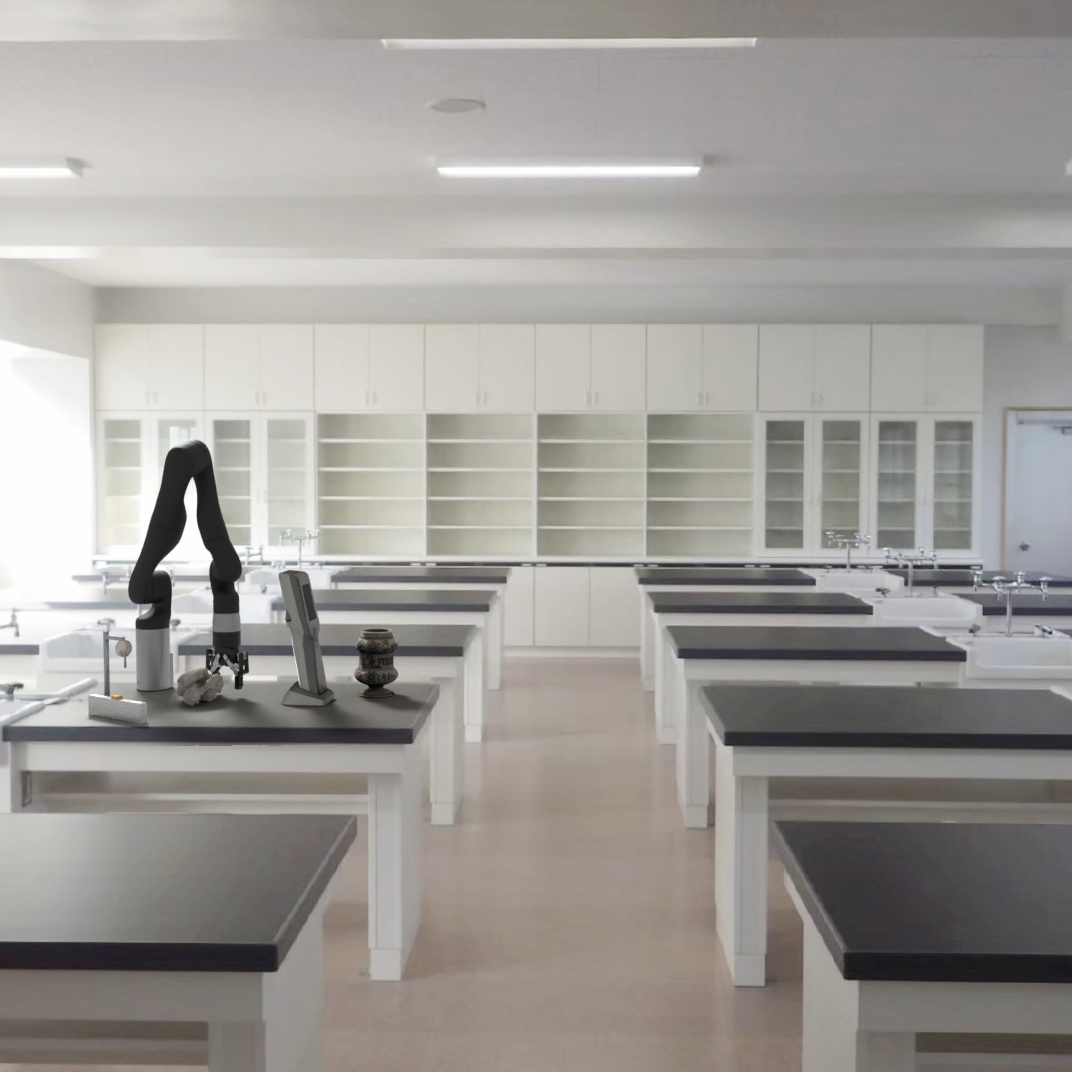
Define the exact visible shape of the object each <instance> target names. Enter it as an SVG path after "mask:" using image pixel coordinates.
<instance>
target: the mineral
mask: <svg viewBox="0 0 1072 1072" xmlns="http://www.w3.org/2000/svg"><path fill="white" fill-rule="evenodd" d="M176 682H177V687H176V692H177V695H178V697H181V698H182V701H183V702H184V703H185V704H186V705H188V706H190V707H193V706H194V705H196V704H200V701H203V702H213V701H214V700H215V699H216V695H217V694H221V692H222V689H223V688H224V687H225V682H224V677H223V676H222V675H221V674H220V675H219V674H218V673H217V674H213V675H212V673H209V670H208V669H207V668H206V667H199V668H194V669H192V670H189V671H188V672H187V671H186V672H184V673H182V674H181V675H179V676H178V678H177V680H176Z"/></svg>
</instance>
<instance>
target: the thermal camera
mask: <svg viewBox="0 0 1072 1072" xmlns="http://www.w3.org/2000/svg"><path fill="white" fill-rule="evenodd" d="M278 580H279V584H280V589H281V590H280V591H281V595H282V600H283V604H284V608H285V617H284V621H285V626H286V627H287V628H290V636H291V643H292V649H293V650H292V651H293V655H294V662H295V665H296V670H297V676H298V677H297V678H298V680H297V681H295V682H294V683H293V684H291V685H292V686H290V687H289V689H288V690H287V691H286V693H285V694H284V695H283V698H282V699H281V705H283V706H287V707H288V706H290V707H292V706H293V707H294V706H295V707H325V706H327V705H328V704H330V703H331V702H332V701H333V700H334V699H336V696H335V692H334V691H333V690H332V689H331V688H328V684H327V679H326V672H325V667H324V660H323V656H322V650H321V645H320V640H319V635H320V630H321V626H320V618H319V614H318V609H317V606H316V602H315V598H314V594H313V593H314V592H313V588H312V583H311V579H310V576H309V574H308V572H306V571H304V570H294V569H287V570H285V571H282V572H279V573H278Z"/></svg>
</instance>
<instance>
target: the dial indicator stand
mask: <svg viewBox="0 0 1072 1072" xmlns="http://www.w3.org/2000/svg"><path fill="white" fill-rule="evenodd" d="M109 632H110V631H109V630H102V638H103V639H102V640H103V641H102V643H103V644H102V645H103V649H102V650H103V651H102V652H103V686H104V687H103V689H104V690H103V691H104V693H103V694H104V695H103V696H109V697H111V682H110V681H111V678H110V675H111V673H110V670H111V669H110V641H111V640H112V641H117V643H115V644H116V645H115V648H114V651H115V653H116V656H118V657H122V658H123V668H125V669H127V667H128V666H127V657H128V656H130V655H131V653H132V651H133V644H132V643H131V641H130V640H127V639H126V636H124V635H123V636H122V635H114V634H109Z"/></svg>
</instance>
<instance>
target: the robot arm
mask: <svg viewBox="0 0 1072 1072" xmlns="http://www.w3.org/2000/svg"><path fill="white" fill-rule="evenodd" d="M215 478H216V477H215V471H214V465H213V459H212V455H211V451H210V449H209V448H208V446H207V445H206V443H204V442H203V441H201V440H199V439H195V438H194V439H189V440H186V441H184V442H182V443H180V444H178V445H174V446H173V447H172V448H171V449H170V450H168V452H167V454H166V457H165V461H164V465H163V471H162V476H161V482H160V487H159V491H158V494H157V497H156V501H155V504H154V508H153V511H152V514H151V517H150V520H149V524H148V527H147V531H146V534H145V535H146V536H145V537H144V541H143V544H142V548H141V551H140V553H139V556H138V558H137V559H136V562H135V565H134V568H133V570H132V572H131V574H130V578H129V580H128V587H127V593H128V598H129V600H130V601H131V602H132V603H133V604H135V605H150V604H151V607H150V609H149V610H147V611H146V612H145V613H144V614H142V615H140V616H137V617H136V619H135V622H134V623H135V624H134V625H135V626H134V628H135V665H136V667H135V669H136V670H135V671H136V675H135V677H136V678H135V679H136V690H138V691H146V692H147V691H151V692H153V691H162V690H163V691H164V690H168V689H170V688H173V687H174V685H175V684H174V682H175V681H174V653H172V652H171V632H170V631H171V630H170V626H171V625H170V622H171V618H172V602H173V600H172V599H173V584H172V579H171V576H170V574H169V573H168V571H166V570H162V569H159V570H158V569H157V567H158V566H159V564H160V563H161V562H162V561H163V560H164V559H165V558H166V557H167V556H168V555H170V553H171V552H172V551H174V549H175V548H176V547H177V546H178V544H179V543H180V541H181V539H182V537H183V535H184V531H185V527H186V523H187V520H188V519H187V518H188V514H187V513H188V512H187V509H186V504H185V496H186V493H187V489H188V487H189V484H190V482H191V480H192V479H193V482H194V485H195V490H196V512H195V513H196V524H197V527H198V531H199V534H200V538H201V540H202V544H203V545H204V548H205V549H206V550H207V551H208V552H209V554H210V555H211V559H212V560H211V562H210V565H209V568H208V569H209V570H208V575H209V576H208V577H209V583H210V587H211V593H212V607H213V608H212V612H213V614H212V621H211V622H212V625H211V626H212V627H211V629H212V647H210V648H206V650H205V668H207V669H208V672H210V674H211V675H213V674H217V673H218V674H219V675H220V676H221V672H220V671H221V669H222V667H228V668H229V669H230V670H231V671H232V672H233V674H234V690H236V691H239V690H242V689H243V686H244V675H248V674H249V673H250V665H249V664H250V663H249V661H250V660H249V652H248V651H243V652H240V650H239V649H240V646H241V645H242V641H241V640H242V636H241V635H242V632H241V631H242V630H241V629H242V628H241V626H242V624H241V622H242V621H241V613H240V596H239V593H238V592H237V590H236V587H235V582H237V581H238V580H239V579H240V578H241V577H242V574H243V566H242V562H241V559H240V557H239V554H238V553H237V550H236V549H235V546H234V544H233V543H232V541H231V539H230V535H229V532H228V529H227V526H226V522H225V520H224V517H223V513H222V509H221V506H220V500H219V497H218V496H219V495H218V489H217V484H216V483H217V482H216V479H215ZM156 569H157V570H156Z"/></svg>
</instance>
